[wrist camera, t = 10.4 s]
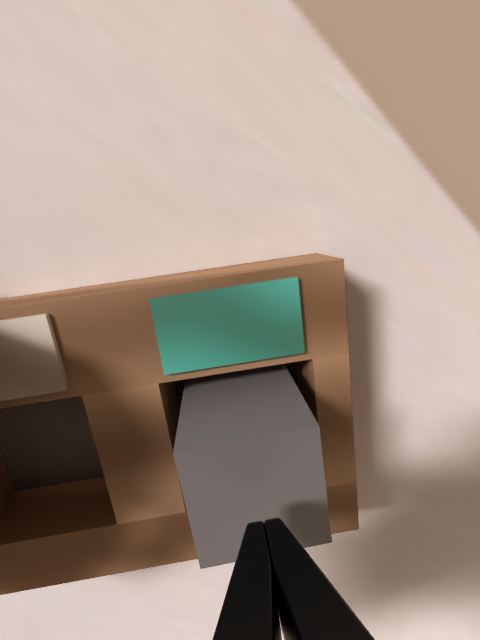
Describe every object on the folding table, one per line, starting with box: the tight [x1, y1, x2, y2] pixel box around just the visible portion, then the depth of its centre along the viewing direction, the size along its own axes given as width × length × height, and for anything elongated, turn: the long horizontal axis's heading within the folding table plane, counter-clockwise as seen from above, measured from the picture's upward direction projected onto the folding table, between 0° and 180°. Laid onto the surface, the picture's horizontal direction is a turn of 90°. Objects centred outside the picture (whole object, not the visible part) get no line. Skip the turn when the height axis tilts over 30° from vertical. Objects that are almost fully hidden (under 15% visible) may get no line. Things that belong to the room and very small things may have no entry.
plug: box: [173, 364, 332, 569], centre depth 13 cm, size 4×4×6 cm
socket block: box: [0, 253, 359, 595], centre depth 14 cm, size 11×16×3 cm
